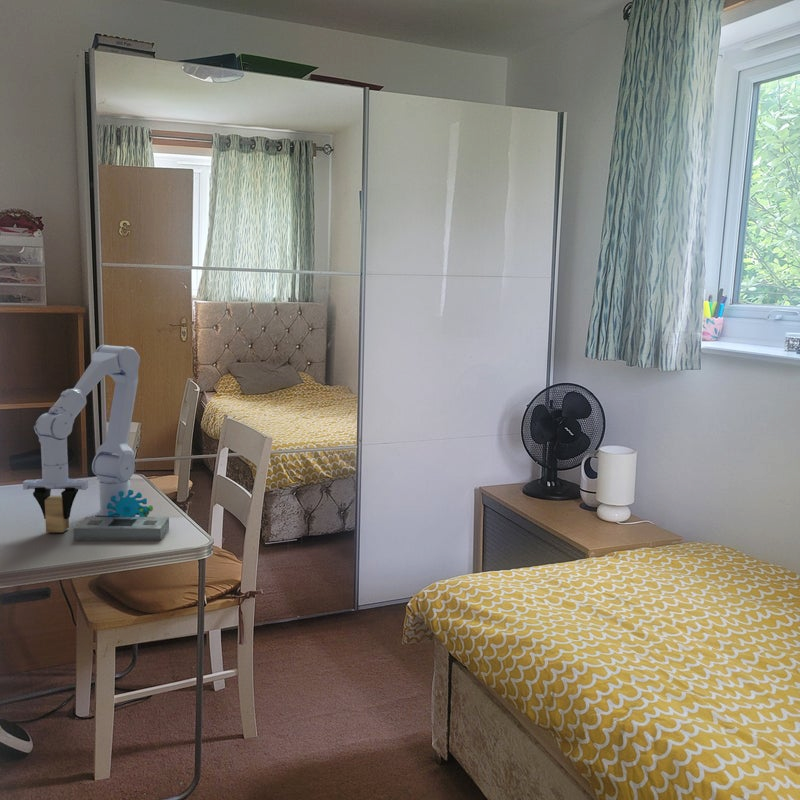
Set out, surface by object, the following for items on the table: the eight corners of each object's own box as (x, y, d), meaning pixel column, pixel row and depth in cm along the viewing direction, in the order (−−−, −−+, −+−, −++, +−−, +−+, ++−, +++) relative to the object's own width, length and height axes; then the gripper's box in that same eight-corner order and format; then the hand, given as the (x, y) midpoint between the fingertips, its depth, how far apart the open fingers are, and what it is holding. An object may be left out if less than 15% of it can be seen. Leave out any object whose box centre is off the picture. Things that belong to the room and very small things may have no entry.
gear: (102, 521, 190) (110, 486, 196) (103, 532, 194) (111, 497, 200) (149, 525, 192) (155, 491, 198) (148, 536, 197) (155, 502, 203)
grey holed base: (86, 528, 189) (85, 516, 188) (169, 528, 190) (168, 516, 190) (73, 540, 180) (73, 527, 179) (160, 540, 181) (160, 528, 181)
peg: (52, 527, 188) (50, 495, 186) (69, 527, 188) (67, 495, 187) (46, 532, 184) (44, 500, 182) (63, 532, 184) (61, 500, 183)
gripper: (16, 466, 179) (19, 522, 181) (80, 467, 180) (82, 523, 182) (28, 460, 186) (31, 514, 188) (90, 460, 187) (92, 514, 189)
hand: (57, 517), depth 185 cm, fingers closed on peg, 4 cm apart
